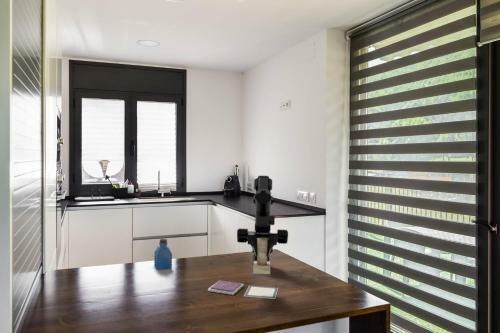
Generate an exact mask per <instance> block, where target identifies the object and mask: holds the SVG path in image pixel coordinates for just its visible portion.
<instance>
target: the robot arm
mask: <svg viewBox="0 0 500 333" xmlns="http://www.w3.org/2000/svg"><path fill="white" fill-rule="evenodd" d="M253 181H254V182H253V190H254V191H255V194H254V195H253V202H252V204H253V205H255V220H254V230H253V231H250V230H249V229H248V228H238V229H236V238H237V241H236V242H237V243H242V244H243V243H245V244H246V243H247V245H250V246H251V248H252V251H251V252H252V253H253V255H252V265H254V261H257V239H258V238H267V262H270V254H273V253H274V252H273V250H274V246H277V245H278V244H279V245H280V244H281V245H285V244H288V240H289V239H288V238H289V231H288V230H287V229H280V228H279V229H276V232H271V227H272V226H275V223H276V222H275V219H276V218H275V215H271V206H273V205H274V203H275V198H274V197H273V195H272V192H271V191H272V190H273V179H272V178H270V177H269V175H257V178H254V180H253ZM271 266H272V265H271V264H270V268H271Z"/></svg>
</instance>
